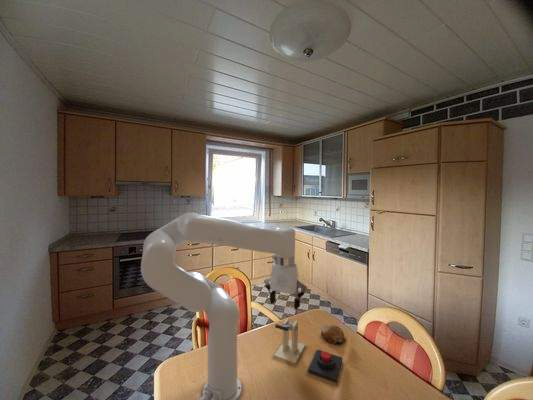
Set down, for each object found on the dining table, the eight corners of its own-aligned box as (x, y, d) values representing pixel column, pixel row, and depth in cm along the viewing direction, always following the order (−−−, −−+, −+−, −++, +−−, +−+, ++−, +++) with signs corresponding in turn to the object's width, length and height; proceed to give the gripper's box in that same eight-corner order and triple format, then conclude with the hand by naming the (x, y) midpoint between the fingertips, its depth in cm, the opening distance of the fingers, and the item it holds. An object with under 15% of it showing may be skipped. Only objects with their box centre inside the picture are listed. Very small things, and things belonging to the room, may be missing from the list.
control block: (336, 385, 78) (336, 374, 78) (308, 375, 83) (308, 364, 83) (342, 362, 89) (342, 352, 89) (316, 354, 93) (316, 345, 93)
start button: (329, 364, 83) (329, 359, 83) (319, 360, 85) (319, 356, 85) (331, 357, 87) (331, 353, 86) (322, 354, 88) (322, 350, 88)
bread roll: (342, 343, 106) (340, 323, 109) (347, 347, 97) (345, 325, 100) (320, 341, 107) (319, 322, 110) (323, 345, 98) (322, 324, 101)
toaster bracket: (295, 366, 87) (295, 333, 87) (274, 358, 91) (274, 326, 91) (305, 347, 98) (305, 318, 97) (285, 341, 102) (285, 312, 102)
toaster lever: (286, 333, 84) (288, 325, 85) (274, 329, 86) (275, 322, 87) (296, 331, 94) (297, 324, 95) (285, 327, 96) (286, 321, 97)
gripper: (260, 259, 87) (259, 304, 87) (304, 266, 79) (303, 315, 79) (268, 255, 93) (268, 296, 94) (310, 261, 85) (309, 306, 86)
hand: (284, 305), depth 86 cm, fingers open, 9 cm apart
